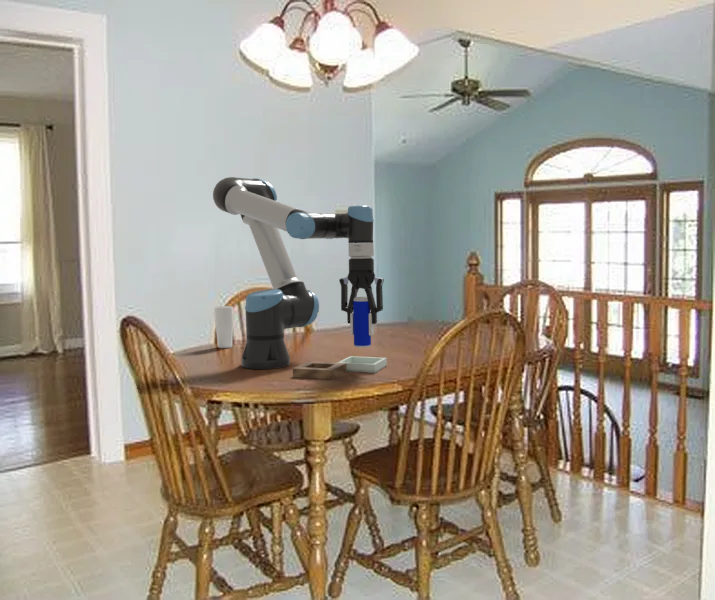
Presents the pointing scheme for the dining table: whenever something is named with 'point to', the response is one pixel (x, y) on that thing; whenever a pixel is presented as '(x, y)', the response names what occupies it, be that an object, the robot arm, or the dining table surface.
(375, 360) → the tray
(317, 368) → the socket block
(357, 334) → the beverage can
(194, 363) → the dining table surface
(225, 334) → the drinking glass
